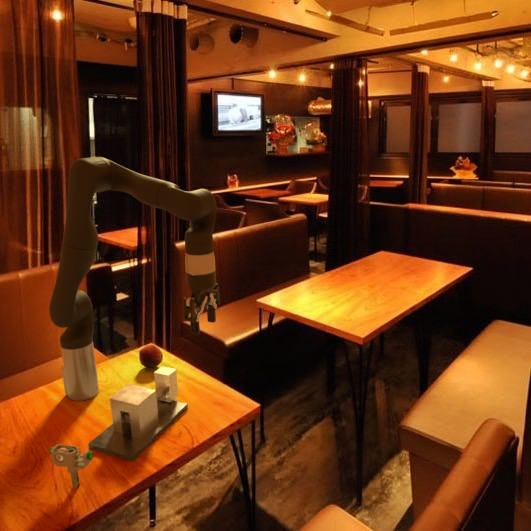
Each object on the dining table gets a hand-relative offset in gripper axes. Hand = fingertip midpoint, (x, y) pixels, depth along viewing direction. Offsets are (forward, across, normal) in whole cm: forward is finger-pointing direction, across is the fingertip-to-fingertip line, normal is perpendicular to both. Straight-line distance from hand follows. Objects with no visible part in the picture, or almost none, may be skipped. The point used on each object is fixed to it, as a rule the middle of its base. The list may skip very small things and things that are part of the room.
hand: (203, 327), depth 131 cm
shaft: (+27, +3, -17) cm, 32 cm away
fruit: (+30, -22, -35) cm, 51 cm away
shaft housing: (+29, +8, -17) cm, 35 cm away
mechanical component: (+30, +33, -17) cm, 47 cm away
